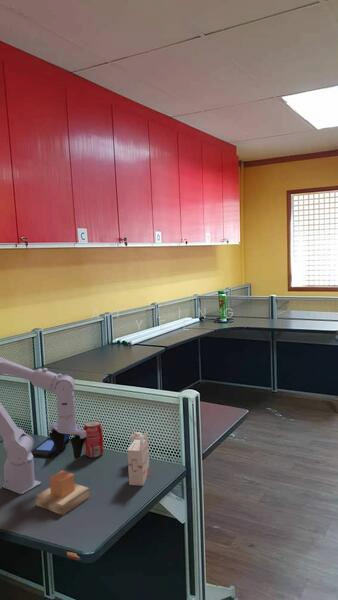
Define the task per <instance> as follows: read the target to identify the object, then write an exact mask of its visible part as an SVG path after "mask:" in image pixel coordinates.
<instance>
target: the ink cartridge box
mask: <svg viewBox="0 0 338 600" xmlns="http://www.w3.org/2000/svg"><path fill="white" fill-rule="evenodd" d="M126 452H127V467H128V468H127V471H128V485H129V486H137V487H138V486H139V487H141V486H144V485H145V483H146V481H147V479H148V477H149V475H150V454H149V453H150V452H149V439H148V432H147V431H146V432H144V434H143V437H142V439H141V440H134V441H133V440H132V443H131V444H130V445H129V447H128V448H127V449H126Z"/></svg>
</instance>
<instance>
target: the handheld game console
mask: <svg viewBox="0 0 338 600" xmlns="http://www.w3.org/2000/svg"><path fill="white" fill-rule="evenodd" d="M76 424H78V421H77V420H76ZM70 437H71V435H70V434H65V436H64V447H65V446H66V445H67V444H68V443H70V439H71V438H70ZM31 453H32V455H33V457H36V458H48V459H52V458H53V456H55V454H56V453H57V450H56V447H55V445H54V443H53V441H52V439H51V438H50V436H49V437H48V438H46V439H45V440H44V441H42V442H41V443H40V444H38V445H37V446H36V447H34V448H32V450H31ZM57 454H58V453H57Z"/></svg>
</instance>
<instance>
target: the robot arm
mask: <svg viewBox="0 0 338 600" xmlns="http://www.w3.org/2000/svg"><path fill="white" fill-rule="evenodd" d="M1 375H9V376H13V377H16V378H20V379H24V380H26V381H30V383H31V384H32V386H33V387H36V388H38V389H39V388H40V389H41V390H45V391H48V392H51V393H53V394H55V396H56V416H57V422H53V423H50V424H49V426H48V427H49V431H51V432H50V433H48V436H49V437H50V438H51V439H52V441H53V443H54V445H55V447H56V450H57V454H58V455H60V454H63V453H64V450H65V446H64V436H65V434H70V436H73V437H71V438H69V439H70V441H69V443H71V446H72V450H73V451H72V453H73V458H74V460H77V459H80V458H81V456H82V451H83V448H84V442H85V440H86V438H87V435H86V430H83V429H82V428H81V427H80V426H79V424H78V423H77V424H76V421H77V415H76V413H77V412H76V399H75V391H74V389H75V387H76V381H75V379H74V378H73V377H72V376H71V375H69V374H62V373H58V374H57V373H55V372H52V371H50V370H48V368H46V367H43V368H38V369H31V368H29V367H26V366H24V365H21V364H18V363H17V362H14V361H11V360H9V359H6V358H4V357H2V356H0V376H1ZM0 436H1V438H2V442H3V449H4V450H5V453H6V455H7V456H6V457H7V459H6V460H5V462H4V465H3V477H4V484H3V485H2V488H4V489H7V490H9V491H11V492H14V493H17V494H20V495H24V494H25V493H27V492H29V491H30V490H32V489H35V488H36V487H37V486H39V485H41V484H42V481H39V480H36V479H35V478H36V476H35V465H34V464H35V463H34V461H35V460H34V456H33V455H32V453H31V451H32V450H33V449H34V445H35V441H34V439H33V437H32V436H31V435H29V434H27V433H26V432H25V431H24V429H22V428H20V427H18V425H16V423H15V421H14V420H13V419H12V417H11V415H10V414H9V413H8V412H7V410H6V409H5V407H4V405H3V404H2V402H1V401H0Z"/></svg>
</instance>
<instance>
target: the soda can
mask: <svg viewBox="0 0 338 600" xmlns="http://www.w3.org/2000/svg"><path fill="white" fill-rule="evenodd" d="M83 430H86V435H87V438H86V440H85V442H84V444H83V451H84V455H85V456H87V457H89V458H92V457H94V458H98V457H100V456H101V455H102V454H103V453H104V432H103V431H104V430H103V425H102V424H101V421H99V420H95V419H94V420H89V421H85V423H84V426H83Z"/></svg>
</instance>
